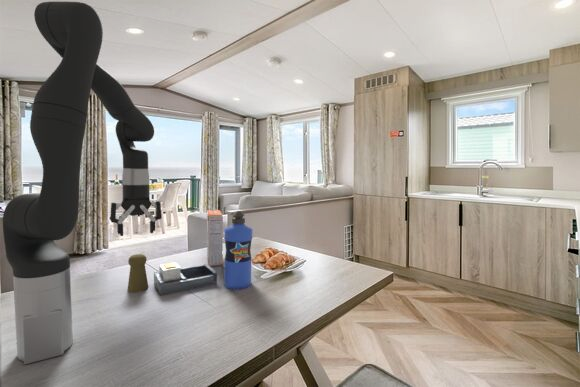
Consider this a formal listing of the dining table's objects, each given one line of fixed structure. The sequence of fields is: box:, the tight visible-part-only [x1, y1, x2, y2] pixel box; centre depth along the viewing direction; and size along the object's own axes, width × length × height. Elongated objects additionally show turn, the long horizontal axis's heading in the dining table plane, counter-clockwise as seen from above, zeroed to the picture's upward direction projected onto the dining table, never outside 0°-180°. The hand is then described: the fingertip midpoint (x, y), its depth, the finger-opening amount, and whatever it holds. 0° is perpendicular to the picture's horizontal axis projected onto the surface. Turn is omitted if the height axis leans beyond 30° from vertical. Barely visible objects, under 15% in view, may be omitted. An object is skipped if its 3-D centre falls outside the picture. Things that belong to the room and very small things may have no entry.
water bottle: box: [223, 210, 253, 290], centre depth 101 cm, size 9×9×25 cm
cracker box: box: [206, 209, 224, 267], centre depth 125 cm, size 14×6×21 cm, turn 17°
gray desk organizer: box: [153, 262, 218, 296], centre depth 101 cm, size 10×18×7 cm, turn 125°
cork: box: [127, 253, 149, 293], centre depth 96 cm, size 6×6×11 cm
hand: (137, 234), depth 95 cm, fingers open, 8 cm apart
